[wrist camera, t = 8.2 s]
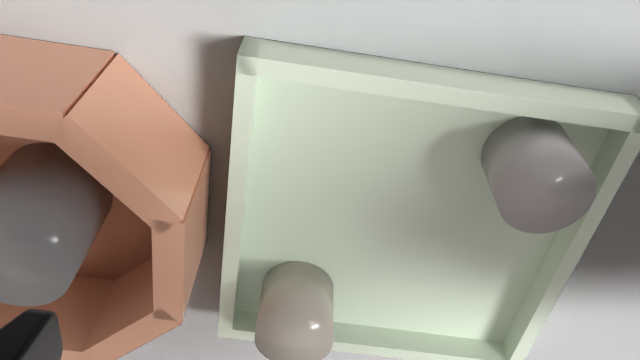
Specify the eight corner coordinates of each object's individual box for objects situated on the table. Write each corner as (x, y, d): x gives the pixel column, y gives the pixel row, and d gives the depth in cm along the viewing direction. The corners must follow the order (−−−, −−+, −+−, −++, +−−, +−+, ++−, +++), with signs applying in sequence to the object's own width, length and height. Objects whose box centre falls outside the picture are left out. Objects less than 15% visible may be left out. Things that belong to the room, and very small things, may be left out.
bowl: (214, 66, 19) (186, 129, 15) (203, 297, 25) (181, 380, 22) (-129, 15, 18) (-242, 69, 15) (-53, 265, 24) (-120, 345, 21)
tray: (635, 95, 19) (657, 118, 18) (508, 343, 26) (517, 372, 25) (244, 35, 18) (236, 55, 17) (223, 308, 25) (217, 337, 24)
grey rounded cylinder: (109, 151, 20) (65, 221, 17) (115, 236, 22) (77, 312, 19) (-6, 134, 20) (-74, 203, 17) (12, 222, 22) (-45, 298, 19)
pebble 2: (583, 121, 19) (613, 163, 17) (549, 192, 21) (573, 239, 19) (496, 109, 19) (516, 149, 17) (470, 181, 21) (485, 227, 19)
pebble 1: (339, 266, 23) (339, 318, 21) (327, 315, 25) (326, 369, 23) (265, 256, 23) (257, 308, 21) (259, 307, 25) (251, 361, 22)
